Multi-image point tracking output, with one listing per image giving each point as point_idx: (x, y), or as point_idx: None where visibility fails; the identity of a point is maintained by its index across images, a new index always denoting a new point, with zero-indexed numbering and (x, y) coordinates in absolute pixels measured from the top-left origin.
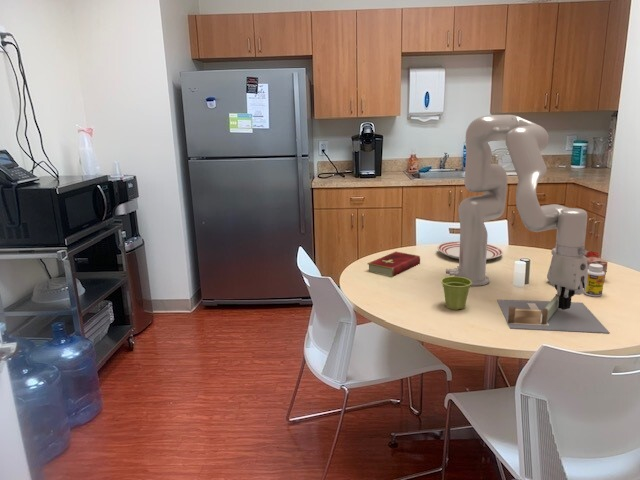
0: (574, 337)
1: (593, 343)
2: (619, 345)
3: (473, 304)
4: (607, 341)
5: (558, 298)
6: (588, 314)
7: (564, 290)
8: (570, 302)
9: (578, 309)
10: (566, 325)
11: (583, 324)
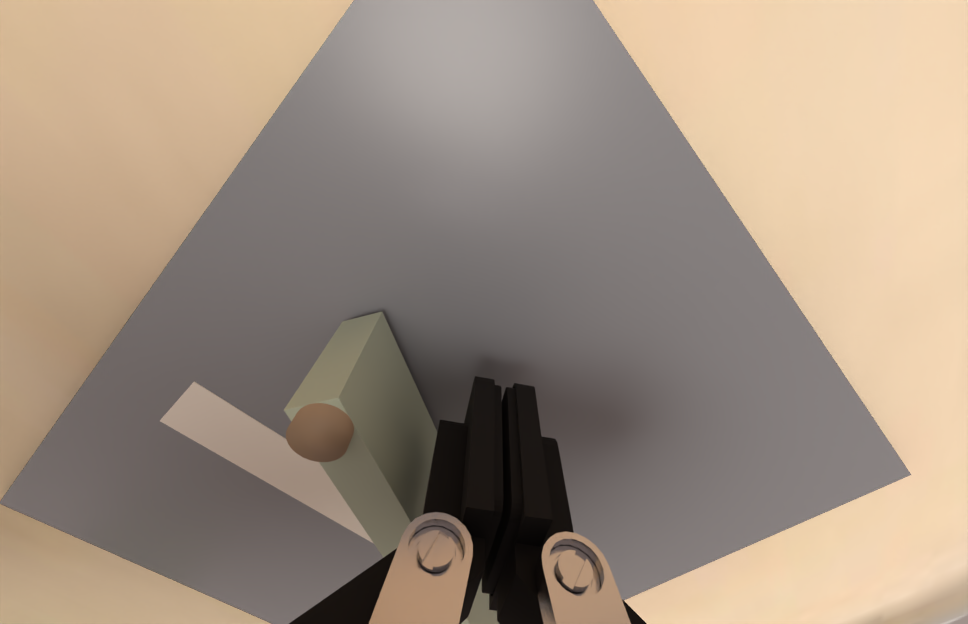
0: (701, 606)
1: (807, 604)
2: (955, 554)
3: (55, 612)
4: (884, 553)
5: (379, 450)
6: (695, 261)
7: (438, 616)
8: (560, 481)
9: (558, 203)
10: (617, 547)
11: (711, 478)
